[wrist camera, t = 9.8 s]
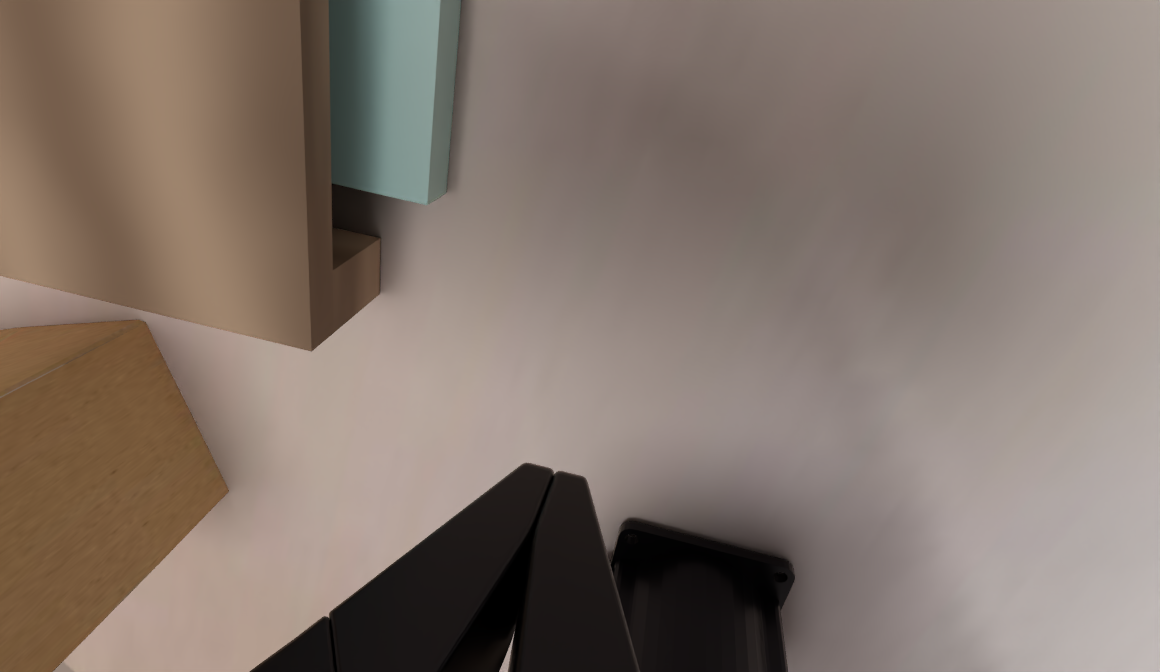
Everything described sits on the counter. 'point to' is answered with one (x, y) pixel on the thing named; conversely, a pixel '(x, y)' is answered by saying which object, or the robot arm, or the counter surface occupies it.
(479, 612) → the robot arm
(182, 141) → the low shelf
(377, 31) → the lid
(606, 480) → the counter surface
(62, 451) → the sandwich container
